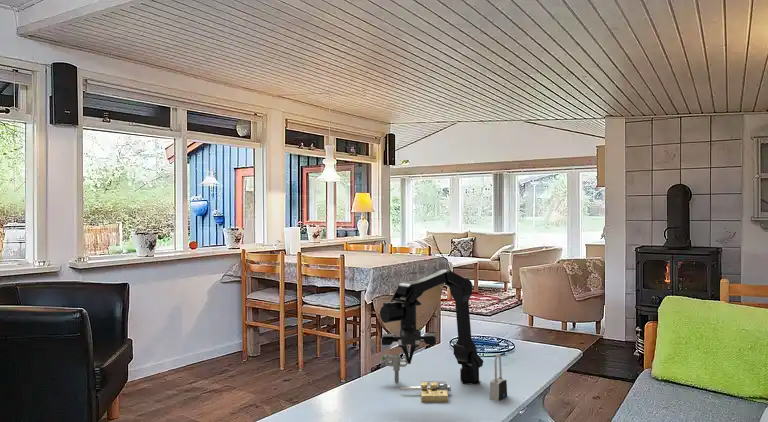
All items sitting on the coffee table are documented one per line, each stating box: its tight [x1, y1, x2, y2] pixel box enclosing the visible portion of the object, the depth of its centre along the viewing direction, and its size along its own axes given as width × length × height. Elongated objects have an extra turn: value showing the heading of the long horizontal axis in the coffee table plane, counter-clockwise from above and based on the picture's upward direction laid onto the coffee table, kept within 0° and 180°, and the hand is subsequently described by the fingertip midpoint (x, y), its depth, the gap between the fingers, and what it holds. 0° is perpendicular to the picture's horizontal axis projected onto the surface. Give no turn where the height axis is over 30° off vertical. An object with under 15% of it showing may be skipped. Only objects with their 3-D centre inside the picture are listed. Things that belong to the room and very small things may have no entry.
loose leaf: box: [420, 381, 449, 403], centre depth 202 cm, size 9×10×4 cm
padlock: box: [489, 354, 508, 402], centre depth 200 cm, size 7×4×15 cm, turn 141°
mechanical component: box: [382, 354, 409, 384], centre depth 221 cm, size 3×10×10 cm, turn 79°
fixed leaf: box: [400, 380, 452, 392], centre depth 210 cm, size 18×10×4 cm, turn 87°
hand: (409, 363), depth 202 cm, fingers closed
